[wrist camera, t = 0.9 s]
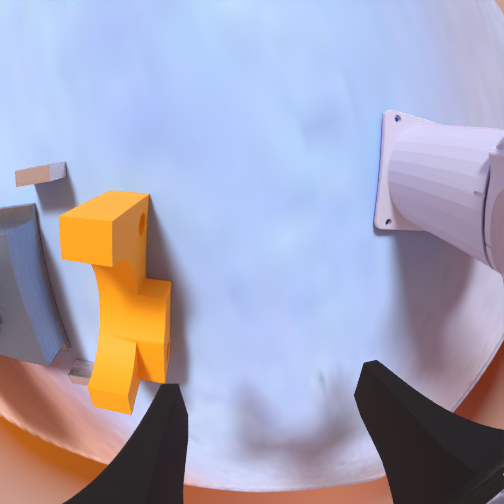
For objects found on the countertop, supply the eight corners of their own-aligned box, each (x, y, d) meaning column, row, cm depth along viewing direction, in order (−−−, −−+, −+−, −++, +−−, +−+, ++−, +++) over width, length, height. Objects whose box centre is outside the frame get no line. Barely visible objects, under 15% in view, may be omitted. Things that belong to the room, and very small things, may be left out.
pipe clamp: (170, 353, 20) (159, 419, 14) (117, 345, 20) (93, 406, 14) (178, 196, 16) (154, 226, 10) (111, 190, 16) (59, 216, 10)
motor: (65, 161, 14) (25, 169, 10) (108, 371, 20) (94, 409, 16) (-24, 180, 13) (-60, 192, 9) (24, 357, 19) (5, 386, 15)
